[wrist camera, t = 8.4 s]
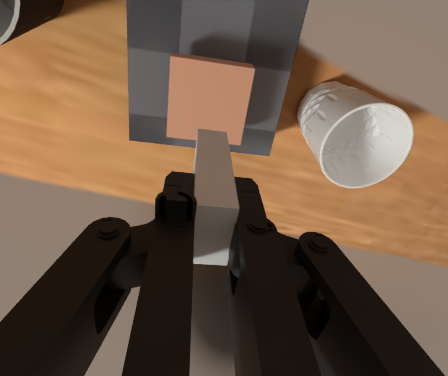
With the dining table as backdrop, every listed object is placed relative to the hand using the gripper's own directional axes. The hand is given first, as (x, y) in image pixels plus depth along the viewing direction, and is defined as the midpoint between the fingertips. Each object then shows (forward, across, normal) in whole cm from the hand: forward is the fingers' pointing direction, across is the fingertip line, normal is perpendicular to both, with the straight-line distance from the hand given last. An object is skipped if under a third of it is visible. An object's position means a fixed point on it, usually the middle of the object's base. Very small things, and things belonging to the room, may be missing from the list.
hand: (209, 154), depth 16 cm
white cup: (+18, +14, -2) cm, 23 cm away
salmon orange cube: (+16, 0, 0) cm, 16 cm away
